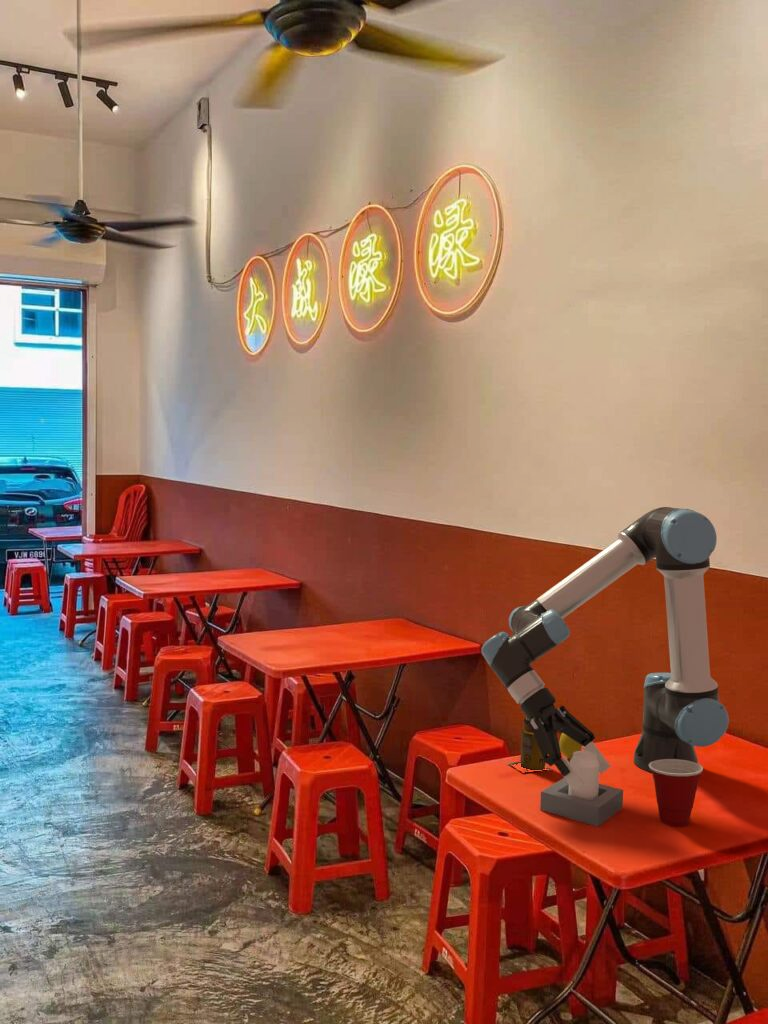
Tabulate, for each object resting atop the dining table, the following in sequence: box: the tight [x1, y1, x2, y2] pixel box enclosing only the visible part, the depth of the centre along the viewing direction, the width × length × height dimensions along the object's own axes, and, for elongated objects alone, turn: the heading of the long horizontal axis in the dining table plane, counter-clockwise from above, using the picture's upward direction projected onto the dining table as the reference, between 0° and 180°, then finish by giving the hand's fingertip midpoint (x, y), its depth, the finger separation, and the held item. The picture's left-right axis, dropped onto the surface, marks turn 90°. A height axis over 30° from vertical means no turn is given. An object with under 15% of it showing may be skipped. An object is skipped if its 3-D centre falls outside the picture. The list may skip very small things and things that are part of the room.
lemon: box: [558, 733, 583, 760], centre depth 219 cm, size 6×6×8 cm
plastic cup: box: [649, 759, 704, 827], centre depth 182 cm, size 11×11×12 cm
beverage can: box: [569, 750, 600, 801], centre depth 187 cm, size 6×6×12 cm
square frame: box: [539, 777, 624, 828], centre depth 187 cm, size 13×13×4 cm
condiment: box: [506, 716, 553, 771], centre depth 213 cm, size 7×8×12 cm
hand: (593, 778), depth 186 cm, fingers open, 13 cm apart
